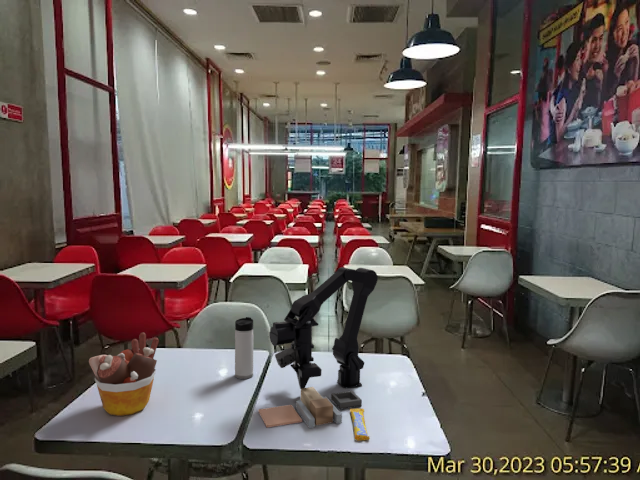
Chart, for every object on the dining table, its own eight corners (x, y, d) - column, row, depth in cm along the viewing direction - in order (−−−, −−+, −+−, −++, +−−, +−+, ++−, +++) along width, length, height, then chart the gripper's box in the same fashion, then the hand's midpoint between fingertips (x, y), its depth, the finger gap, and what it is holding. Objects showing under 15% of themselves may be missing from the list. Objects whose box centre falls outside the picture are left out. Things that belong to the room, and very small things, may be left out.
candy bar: (370, 443, 117) (370, 437, 117) (354, 443, 117) (354, 436, 117) (364, 413, 134) (364, 407, 133) (349, 412, 134) (349, 406, 133)
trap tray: (351, 396, 144) (351, 390, 143) (361, 406, 137) (361, 399, 137) (331, 399, 141) (331, 393, 141) (340, 409, 135) (340, 403, 134)
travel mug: (256, 373, 161) (257, 317, 159) (247, 380, 155) (248, 322, 153) (241, 371, 163) (241, 316, 161) (231, 377, 157) (231, 320, 155)
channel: (325, 404, 138) (326, 396, 138) (341, 422, 127) (341, 414, 126) (295, 409, 134) (295, 400, 134) (309, 428, 123) (309, 419, 123)
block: (326, 414, 131) (326, 398, 131) (332, 422, 127) (333, 405, 126) (309, 417, 130) (310, 400, 129) (315, 425, 125) (316, 408, 124)
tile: (291, 406, 136) (291, 404, 136) (301, 421, 127) (302, 419, 127) (258, 411, 132) (258, 409, 132) (266, 427, 123) (266, 425, 123)
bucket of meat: (131, 426, 122) (129, 354, 121) (78, 419, 126) (76, 348, 124) (171, 395, 142) (170, 333, 140) (124, 390, 145) (123, 328, 144)
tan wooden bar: (312, 401, 140) (313, 386, 140) (323, 413, 132) (323, 398, 132) (300, 402, 139) (300, 388, 139) (310, 416, 131) (310, 400, 130)
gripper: (270, 334, 148) (269, 380, 150) (286, 352, 131) (285, 405, 132) (302, 331, 152) (302, 376, 154) (322, 348, 135) (321, 399, 136)
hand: (302, 388), depth 144 cm, fingers closed
